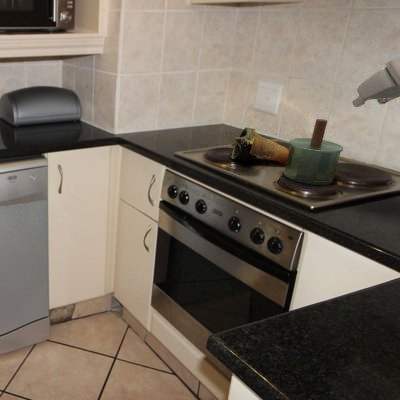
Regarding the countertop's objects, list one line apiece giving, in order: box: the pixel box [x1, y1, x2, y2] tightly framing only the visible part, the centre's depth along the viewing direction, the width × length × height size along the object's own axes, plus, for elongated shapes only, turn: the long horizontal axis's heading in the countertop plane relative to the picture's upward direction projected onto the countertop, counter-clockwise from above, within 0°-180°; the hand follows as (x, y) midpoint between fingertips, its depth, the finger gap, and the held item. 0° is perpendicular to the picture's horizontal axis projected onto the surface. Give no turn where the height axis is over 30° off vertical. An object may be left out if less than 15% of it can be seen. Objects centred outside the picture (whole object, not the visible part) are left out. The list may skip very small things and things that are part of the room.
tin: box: [283, 144, 342, 186], centre depth 138 cm, size 13×13×10 cm
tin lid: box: [288, 118, 344, 153], centre depth 135 cm, size 14×14×8 cm
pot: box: [230, 126, 289, 165], centre depth 151 cm, size 17×11×18 cm
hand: (367, 103), depth 121 cm, fingers open, 8 cm apart
